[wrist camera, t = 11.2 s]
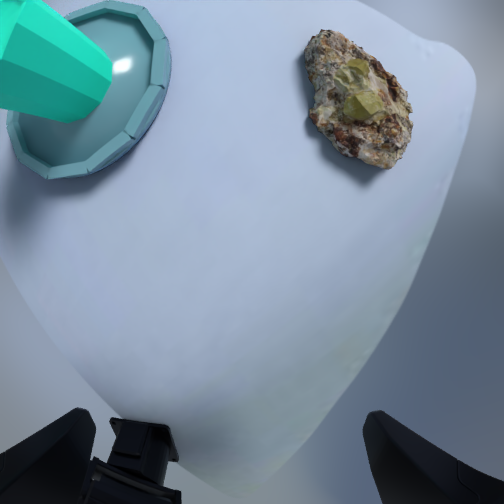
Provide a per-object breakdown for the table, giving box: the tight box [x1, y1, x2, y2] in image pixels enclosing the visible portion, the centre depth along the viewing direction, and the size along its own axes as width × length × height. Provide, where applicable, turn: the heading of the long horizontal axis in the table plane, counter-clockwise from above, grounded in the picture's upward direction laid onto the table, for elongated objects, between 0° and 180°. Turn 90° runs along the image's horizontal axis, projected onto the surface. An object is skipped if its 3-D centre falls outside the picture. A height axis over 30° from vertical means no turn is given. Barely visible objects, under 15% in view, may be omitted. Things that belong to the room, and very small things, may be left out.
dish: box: [6, 0, 171, 179], centre depth 15 cm, size 14×14×2 cm
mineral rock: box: [304, 29, 413, 169], centre depth 16 cm, size 11×4×8 cm
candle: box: [0, 0, 113, 123], centre depth 9 cm, size 6×6×12 cm
